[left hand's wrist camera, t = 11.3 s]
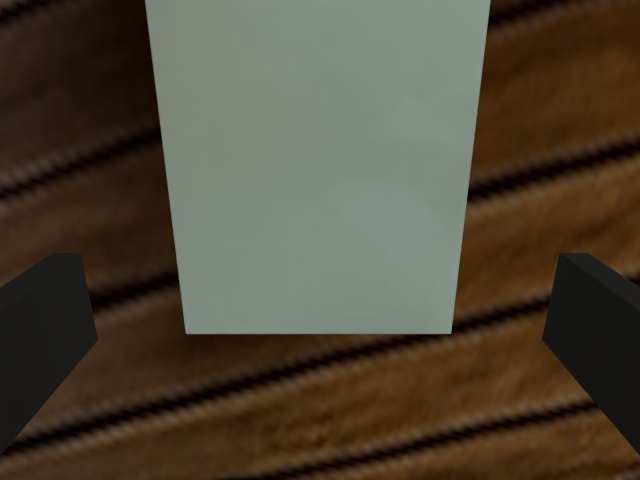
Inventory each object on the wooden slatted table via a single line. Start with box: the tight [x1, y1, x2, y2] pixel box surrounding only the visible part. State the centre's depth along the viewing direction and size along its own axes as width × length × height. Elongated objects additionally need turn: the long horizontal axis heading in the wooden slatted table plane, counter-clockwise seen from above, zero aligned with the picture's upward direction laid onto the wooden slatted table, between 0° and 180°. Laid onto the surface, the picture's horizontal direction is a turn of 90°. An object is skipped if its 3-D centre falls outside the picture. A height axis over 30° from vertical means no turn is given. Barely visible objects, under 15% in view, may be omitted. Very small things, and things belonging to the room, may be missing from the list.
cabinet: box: [145, 0, 490, 334], centre depth 19 cm, size 22×11×9 cm, turn 0°
